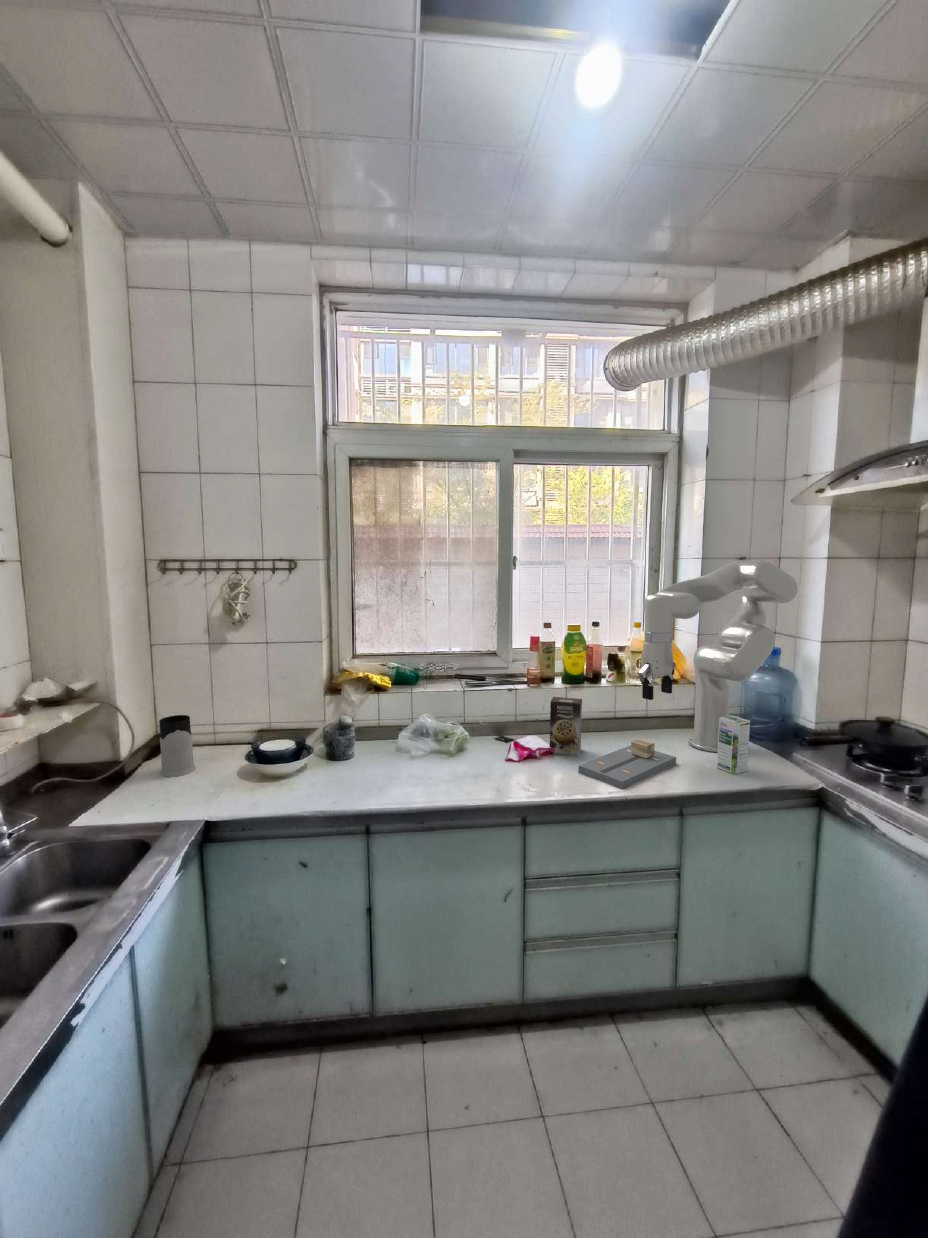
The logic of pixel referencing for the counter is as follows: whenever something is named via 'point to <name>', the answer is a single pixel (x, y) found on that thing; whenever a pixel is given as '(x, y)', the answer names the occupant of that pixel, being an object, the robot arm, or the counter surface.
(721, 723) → the syrup box
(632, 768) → the board
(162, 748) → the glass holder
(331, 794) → the counter surface
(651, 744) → the block
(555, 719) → the cookie box
